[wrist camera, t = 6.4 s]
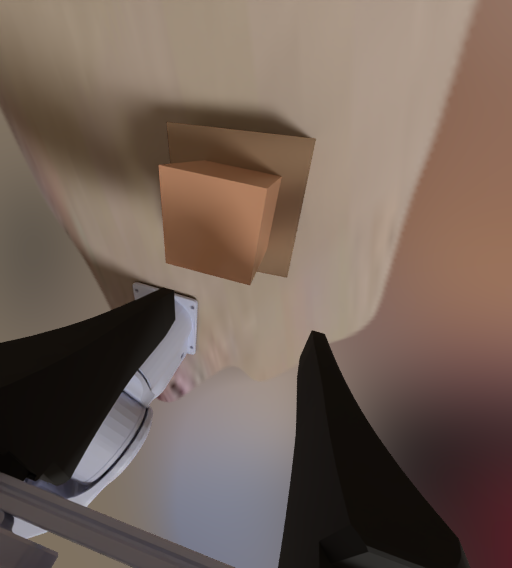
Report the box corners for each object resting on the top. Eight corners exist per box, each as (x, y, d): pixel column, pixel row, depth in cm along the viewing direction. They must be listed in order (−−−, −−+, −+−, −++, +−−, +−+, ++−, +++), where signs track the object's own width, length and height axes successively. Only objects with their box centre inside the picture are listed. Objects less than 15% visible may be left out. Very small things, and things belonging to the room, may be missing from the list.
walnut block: (291, 256, 20) (286, 277, 17) (200, 239, 21) (179, 256, 18) (315, 140, 15) (315, 138, 12) (195, 127, 17) (166, 121, 13)
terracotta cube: (266, 250, 16) (249, 285, 12) (202, 234, 17) (165, 262, 12) (281, 176, 13) (267, 188, 9) (205, 160, 14) (158, 164, 10)
